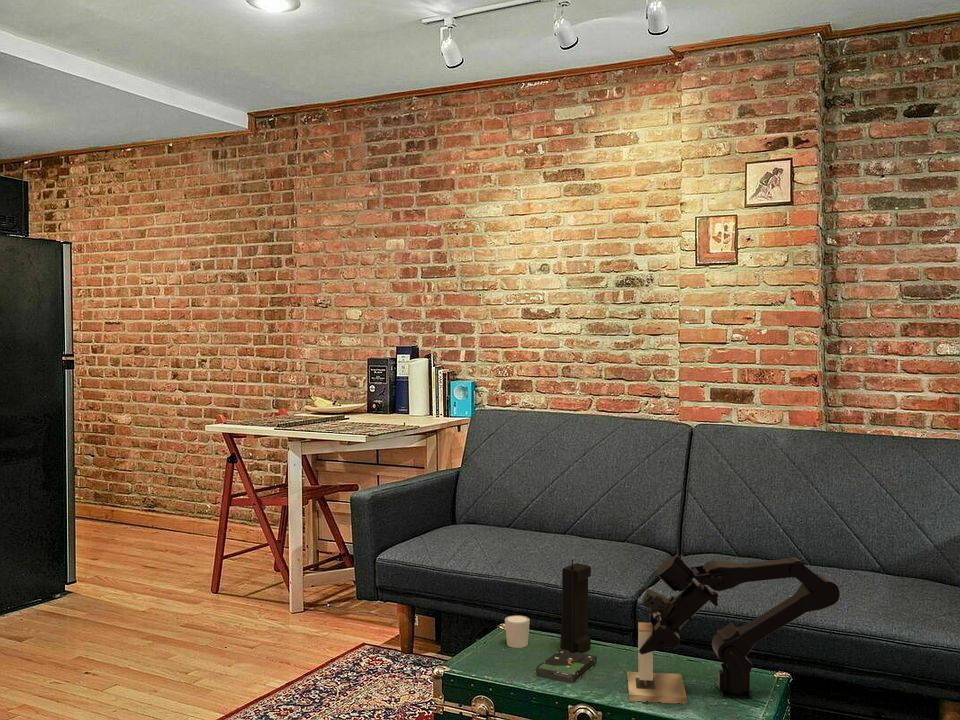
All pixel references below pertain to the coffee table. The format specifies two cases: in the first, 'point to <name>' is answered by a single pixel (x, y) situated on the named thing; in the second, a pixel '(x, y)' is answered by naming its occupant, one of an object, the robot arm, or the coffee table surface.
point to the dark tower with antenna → (575, 608)
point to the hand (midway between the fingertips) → (639, 648)
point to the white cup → (517, 631)
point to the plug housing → (645, 659)
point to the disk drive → (566, 666)
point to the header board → (657, 688)
